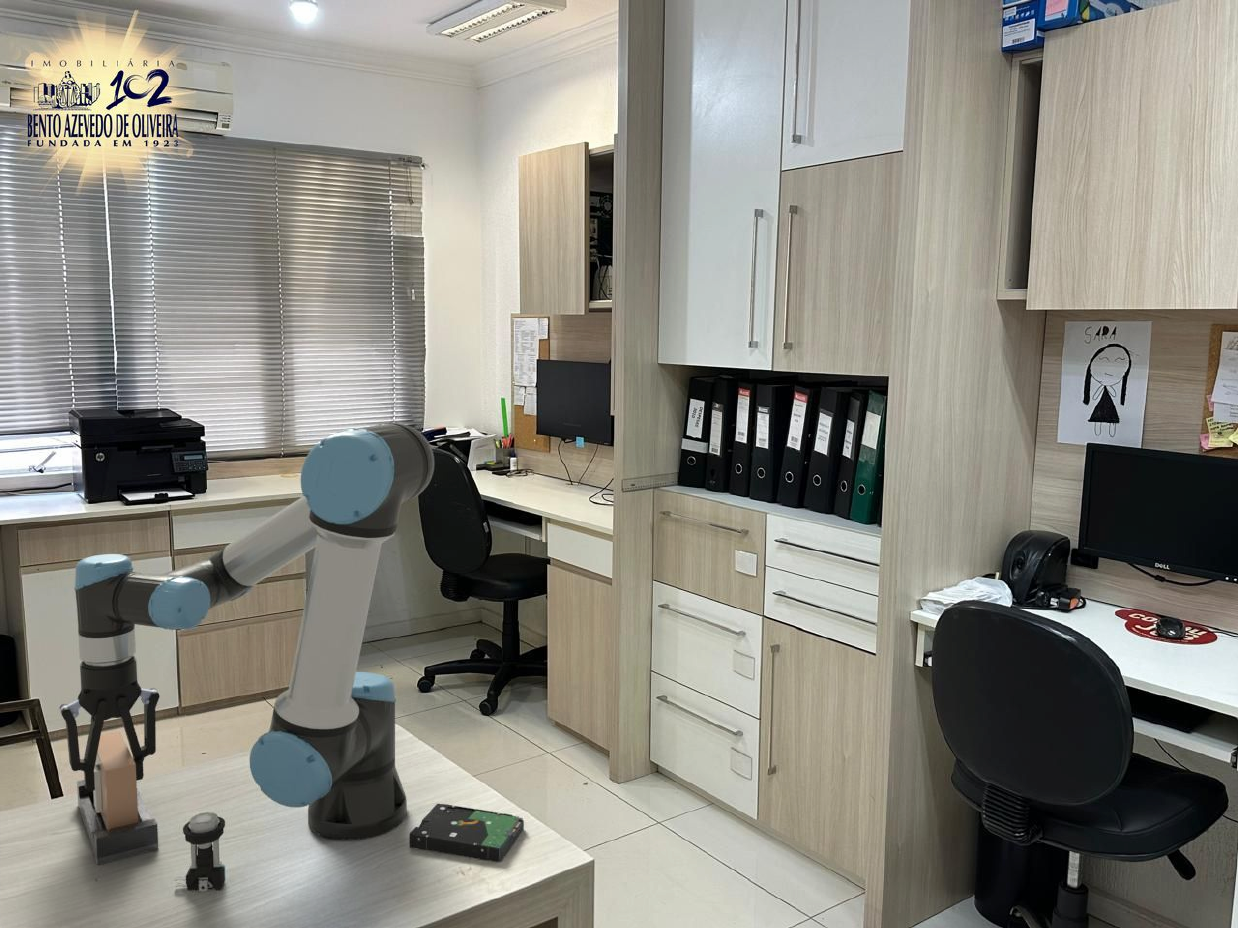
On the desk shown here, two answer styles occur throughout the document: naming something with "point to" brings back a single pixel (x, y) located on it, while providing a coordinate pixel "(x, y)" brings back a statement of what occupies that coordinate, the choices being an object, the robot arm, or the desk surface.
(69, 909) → the desk surface
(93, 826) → the dark grey tray
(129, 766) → the orange rectangular block
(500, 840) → the disk drive
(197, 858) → the push button
